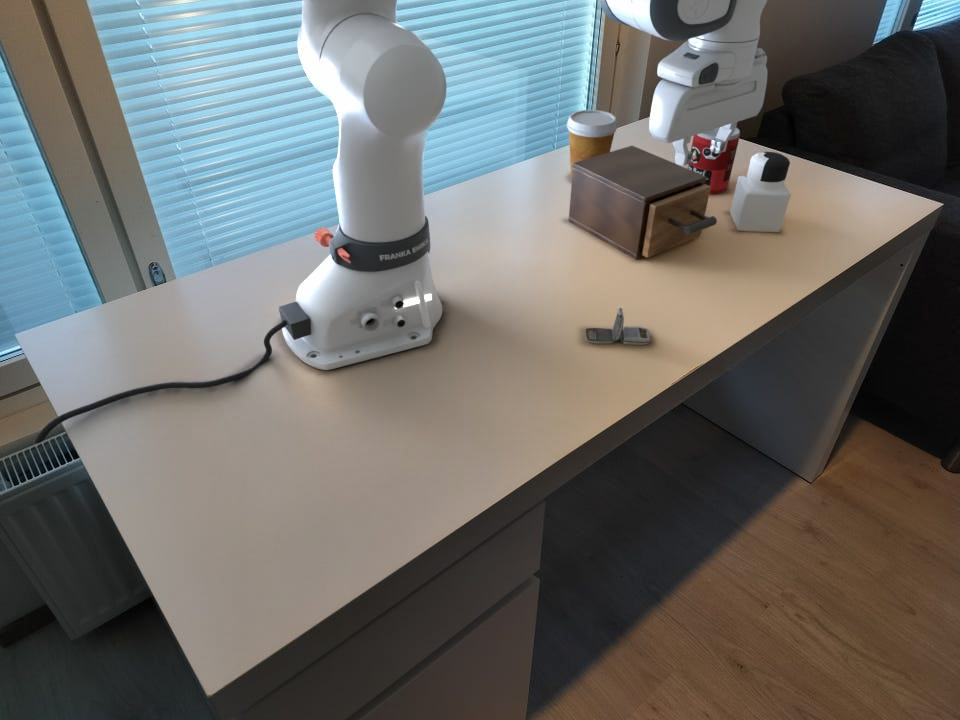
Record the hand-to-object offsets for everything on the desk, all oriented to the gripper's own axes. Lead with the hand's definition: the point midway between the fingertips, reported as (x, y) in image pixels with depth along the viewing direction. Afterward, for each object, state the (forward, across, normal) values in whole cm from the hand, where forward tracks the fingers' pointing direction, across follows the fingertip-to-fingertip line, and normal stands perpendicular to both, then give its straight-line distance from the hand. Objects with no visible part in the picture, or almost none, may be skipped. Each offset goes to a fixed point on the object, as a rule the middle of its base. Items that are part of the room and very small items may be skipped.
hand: (699, 157), depth 100 cm
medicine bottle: (+16, -19, 0) cm, 25 cm away
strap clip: (+16, +24, +10) cm, 31 cm away
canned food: (+16, -24, -15) cm, 33 cm away
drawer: (+15, 0, -7) cm, 17 cm away
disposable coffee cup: (+16, -8, -31) cm, 36 cm away
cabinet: (+16, 0, -12) cm, 20 cm away
